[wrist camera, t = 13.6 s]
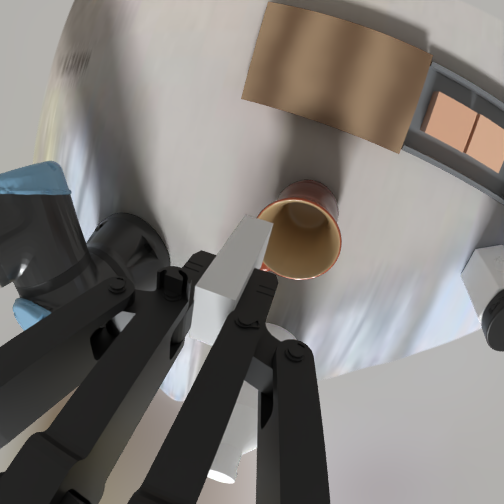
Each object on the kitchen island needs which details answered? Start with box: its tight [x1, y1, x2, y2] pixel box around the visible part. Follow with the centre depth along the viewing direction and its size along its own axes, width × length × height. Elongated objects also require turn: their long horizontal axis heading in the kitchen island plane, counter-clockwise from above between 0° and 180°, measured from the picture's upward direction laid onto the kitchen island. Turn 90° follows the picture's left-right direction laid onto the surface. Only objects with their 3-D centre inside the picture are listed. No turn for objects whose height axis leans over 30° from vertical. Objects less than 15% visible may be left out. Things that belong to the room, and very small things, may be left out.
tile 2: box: [420, 91, 477, 153], centre depth 27 cm, size 5×5×2 cm
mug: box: [257, 180, 342, 280], centre depth 35 cm, size 12×9×10 cm
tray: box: [401, 61, 504, 205], centre depth 27 cm, size 16×11×2 cm
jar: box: [461, 245, 504, 351], centre depth 30 cm, size 9×8×12 cm
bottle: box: [207, 323, 297, 483], centre depth 42 cm, size 12×12×25 cm
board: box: [241, 2, 433, 154], centre depth 29 cm, size 18×12×3 cm, turn 76°
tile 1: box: [463, 113, 504, 173], centre depth 26 cm, size 5×5×2 cm
